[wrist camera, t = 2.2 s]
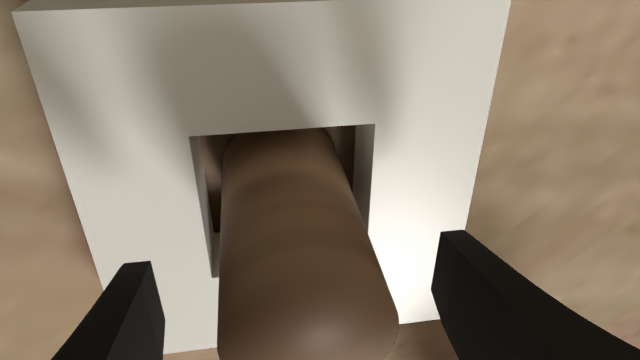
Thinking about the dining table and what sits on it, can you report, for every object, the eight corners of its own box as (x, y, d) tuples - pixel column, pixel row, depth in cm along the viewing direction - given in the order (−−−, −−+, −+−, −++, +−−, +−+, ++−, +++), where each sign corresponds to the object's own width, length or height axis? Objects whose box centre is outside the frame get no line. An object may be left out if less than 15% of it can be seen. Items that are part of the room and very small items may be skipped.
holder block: (426, 275, 21) (446, 318, 19) (137, 308, 19) (126, 358, 17) (473, -23, 14) (512, -6, 12) (45, -10, 13) (10, 12, 11)
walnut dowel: (336, 207, 18) (391, 383, 12) (228, 217, 18) (227, 406, 11) (338, 109, 16) (407, 260, 10) (216, 117, 15) (205, 282, 9)
